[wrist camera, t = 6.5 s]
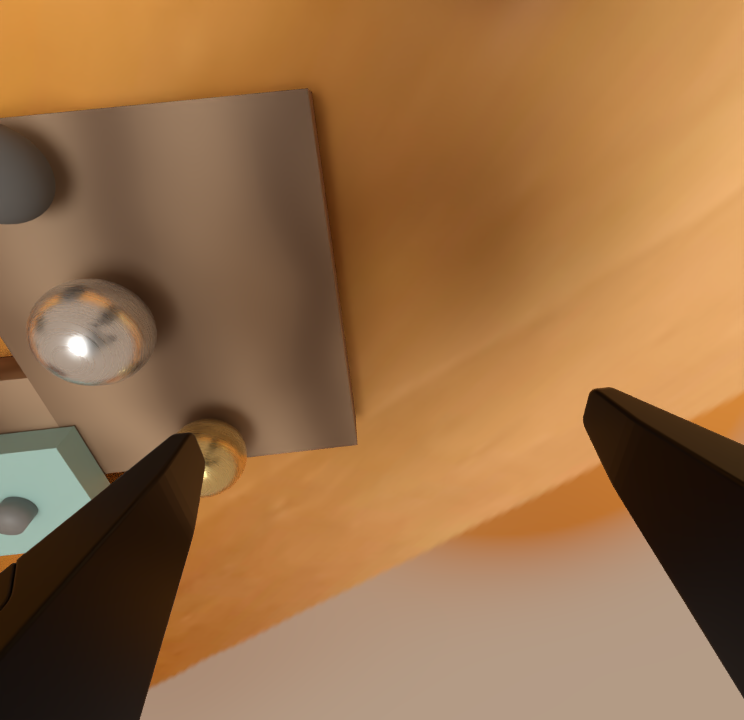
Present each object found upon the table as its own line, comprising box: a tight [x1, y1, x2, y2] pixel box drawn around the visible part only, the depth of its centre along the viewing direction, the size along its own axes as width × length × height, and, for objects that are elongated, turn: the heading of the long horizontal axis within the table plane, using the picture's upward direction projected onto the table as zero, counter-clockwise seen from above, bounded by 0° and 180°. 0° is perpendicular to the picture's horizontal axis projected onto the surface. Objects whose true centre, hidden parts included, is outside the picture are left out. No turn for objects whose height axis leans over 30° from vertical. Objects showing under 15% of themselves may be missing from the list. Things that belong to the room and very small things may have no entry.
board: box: [0, 88, 357, 474], centre depth 18 cm, size 22×16×2 cm
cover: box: [0, 426, 110, 556], centre depth 20 cm, size 7×7×2 cm
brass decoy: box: [176, 419, 247, 497], centre depth 19 cm, size 4×4×4 cm
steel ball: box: [26, 279, 157, 386], centre depth 15 cm, size 4×4×4 cm
